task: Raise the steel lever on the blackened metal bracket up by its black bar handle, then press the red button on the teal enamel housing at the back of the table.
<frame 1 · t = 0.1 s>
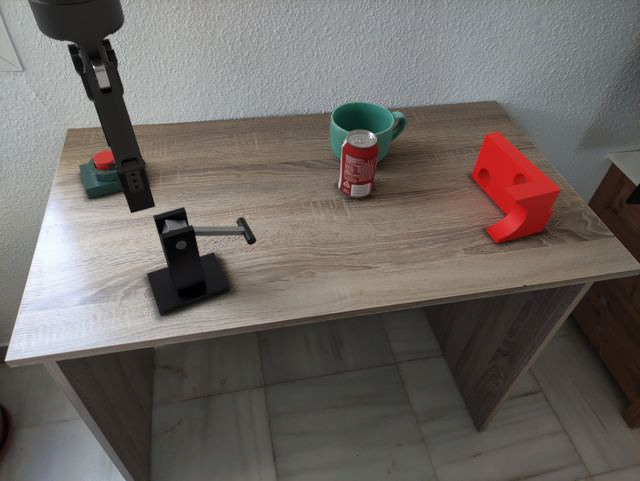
hand: (130, 173, 57), 23 cm above the table, tool pointing down, fingers open, 13 cm apart
lever: (210, 231, 69), point 10 cm above the table, hinge at -22.0°
bracket 2: (491, 206, 91), on the table
button box: (112, 179, 91), on the table
mug: (366, 155, 101), on the table
soda can: (354, 190, 93), on the table
bracket: (189, 284, 74), on the table
button: (106, 160, 88), point 4 cm above the table, slide at 0.1 cm
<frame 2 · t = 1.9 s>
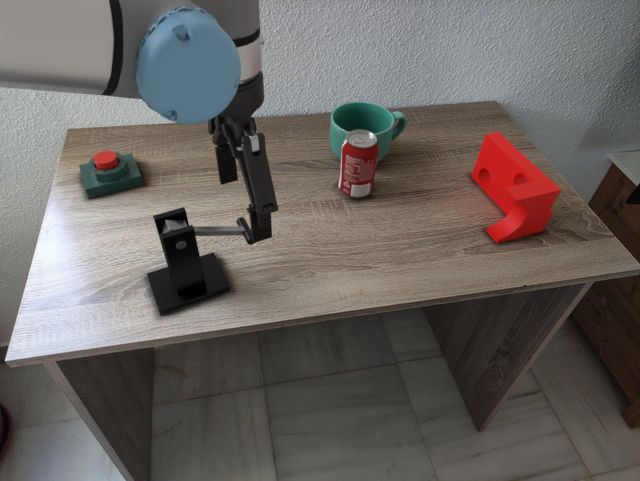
hand: (244, 208, 69), 13 cm above the table, tool pointing down, fingers open, 13 cm apart
nothing on the table moved.
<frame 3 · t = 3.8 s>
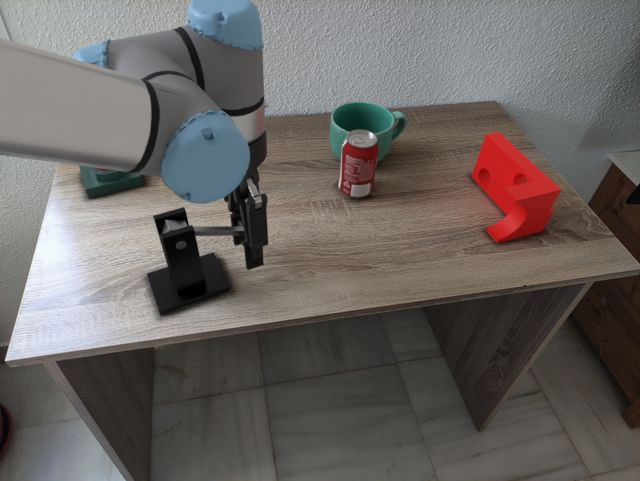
hand: (248, 253, 76), 3 cm above the table, tool pointing down, fingers closed on lever, 5 cm apart
lever: (210, 231, 69), point 10 cm above the table, hinge at -22.0°, touching gripper
everything else where it was.
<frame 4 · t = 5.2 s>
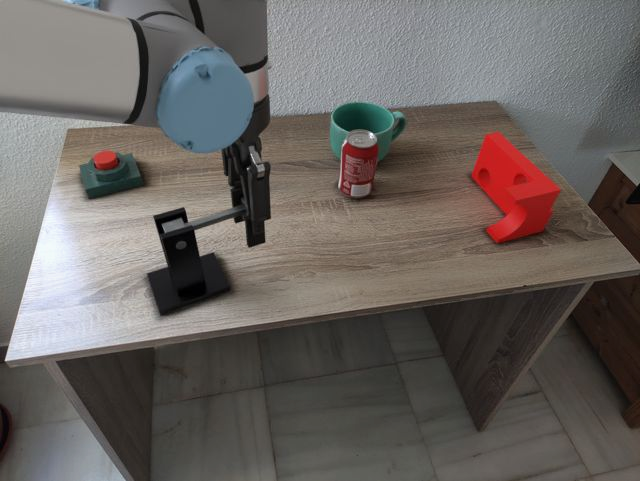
hand: (249, 231, 73), 8 cm above the table, tool pointing down, fingers closed on lever, 5 cm apart
lever: (210, 219, 67), point 12 cm above the table, hinge at 2.5°, touching gripper
everything else where it was.
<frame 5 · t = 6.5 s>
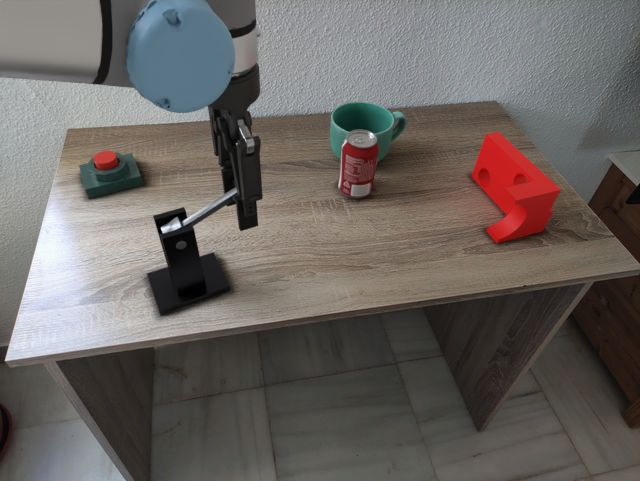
hand: (241, 214, 69), 12 cm above the table, tool pointing down, fingers closed on lever, 5 cm apart
lever: (206, 211, 66), point 14 cm above the table, hinge at 22.7°, touching gripper
everything else where it was.
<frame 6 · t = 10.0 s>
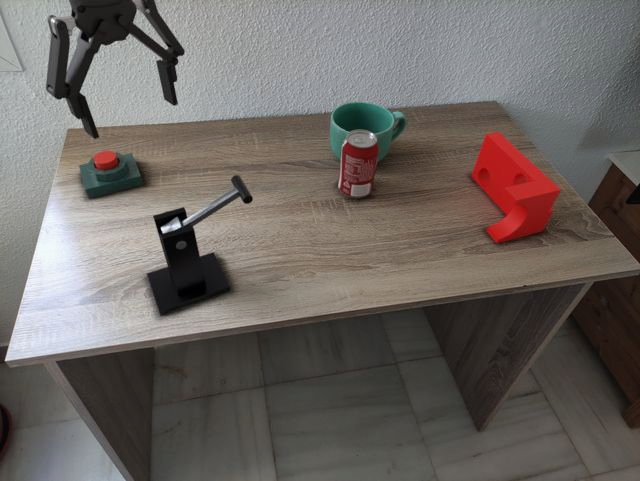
hand: (133, 117, 72), 19 cm above the table, tool pointing down, fingers open, 13 cm apart
lever: (206, 211, 66), point 14 cm above the table, hinge at 22.6°
everything else where it was.
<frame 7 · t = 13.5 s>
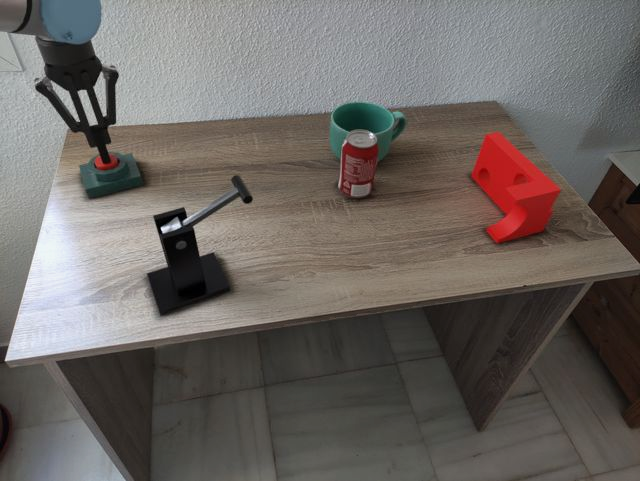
hand: (105, 158, 88), 5 cm above the table, tool pointing down, fingers closed
button: (107, 163, 89), point 4 cm above the table, slide at -0.6 cm, touching gripper
everything else where it was.
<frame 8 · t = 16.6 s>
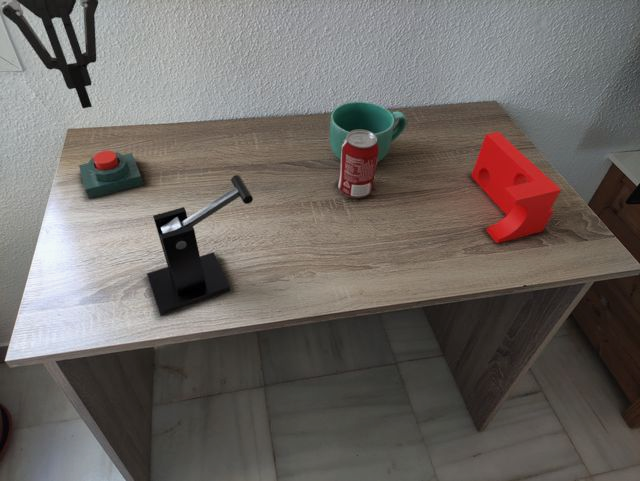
hand: (86, 103, 79), 16 cm above the table, tool pointing down, fingers closed
button: (106, 160, 88), point 4 cm above the table, slide at 0.1 cm
everything else where it was.
at the end: lever at +23° (first picture: -22°); button pushed in 1.0 cm at the most during the clip, back to where it started at the end; button slide at 0.1 cm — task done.
